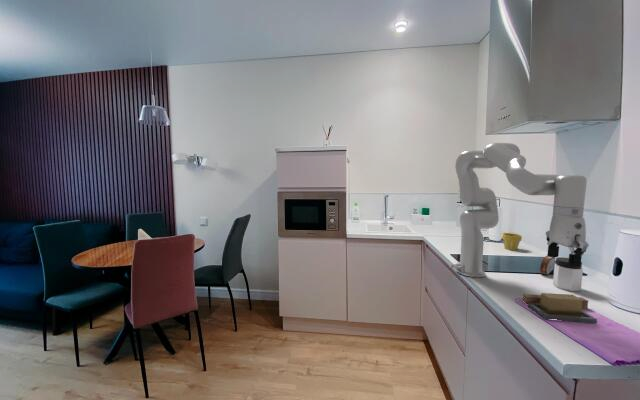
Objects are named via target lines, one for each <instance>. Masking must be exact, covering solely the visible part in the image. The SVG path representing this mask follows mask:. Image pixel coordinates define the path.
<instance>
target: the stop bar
mask: <svg viewBox="0 0 640 400" xmlns="http://www.w3.org/2000/svg"><path fill="white" fill-rule="evenodd" d="M540 295H541V302H540V310H542V311H543V312H545V313H546V314H548V315H563V316H578V317H581V312H582V311H583V308H582V301H583V300H582V299H580V298H578V296H576V295H574V294H570V293H569V294H568V293H567V294H566V293H549V292H541V293H540Z"/></svg>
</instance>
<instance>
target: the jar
mask: <svg viewBox="0 0 640 400" xmlns="http://www.w3.org/2000/svg"><path fill="white" fill-rule="evenodd" d="M568 261H569V257H561V256H560V257H559V256H558V257H555V262H554V268H553V279H552V284H553V285H554V286H555V287H556V288H558V289H561V290H565V291H570V292H580V291H582V283H583V271H584V268H582V267H583V262H582V261H581V266H580V267H576V266H569V265H568Z"/></svg>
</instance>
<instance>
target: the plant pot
mask: <svg viewBox="0 0 640 400" xmlns="http://www.w3.org/2000/svg"><path fill="white" fill-rule="evenodd" d="M501 238H502V240H503V247H504V249H505V250H508V251H517V250H518V247H519V244H520V242H521V241H522V238H523V237H522V235H521V234H518V233H513V232H512V233H511V232H503V233H501Z"/></svg>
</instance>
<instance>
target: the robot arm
mask: <svg viewBox="0 0 640 400" xmlns="http://www.w3.org/2000/svg"><path fill="white" fill-rule="evenodd" d="M526 164H527V158H526V157H525V156H523V155H522V154H521V150H520V148H519V146H517V145H516V144H514V143H512V142H511V143H509V142H493V143H490V144H488V145H487V146H485V147H484V149H483V150H466V151H463V152H460V154H459V155H458V156H457V158H456V161H455V164H454V165H455V172H456V174H457V178H458V188H459V196H460V201H461V204H462V205H463V206H464V207H469V208H472V207H473V208H476V207H477V209H468V210H464V211H462V213H461V214H460V215H459V224H460V232H461V233H460V236H461V237H460V257H459V261H458V262H457V263H449V268H453V269H454V270H455V271H456V272H457V273H458V274H460V275H462V276H466V277H470V278H483V277H486V272H485V271H484V270H483V261H484V260H483V257H484V242H485V241H484V235H483V233H482V231H481V230H482V229H483V230H485V229H486V230H487V229H493V228H495V227H497V225H498V223H499V211H498V210H499V209H498V201H497V197H496V194H495V192H494V191H493V190H492V189H491V188H489V187H481V186H480V184H479V177H478V175H477V174H476V172H475V171H474V169H494V168H496V167H497V169H499V170H501V171H502V172H504V173H505V175H506V179H507V181H508V182H509V184H510V185H512V186H513V187H514V188H516V189H517V190H519V192H521V193H523V194H526V195H528V196H553V206H552V215H551V216H552V217H551V220H550V224H549V225H550V226H549V230H547V231H546V232H545V236H546V241H547V243H546V244H547V246H548V247H547V255H546V256H548V257H555V258H559V252H560V245H561V246H564V247H566V248H567V247H568V250H569V252H570V253H569V255H568V258H569V261H568V265H569V266H576V267H580V266H581V262H582V258H583V257H582V256H583V255H584V254H585V252H586V251H587V249H588V248H589V243H588V242H587V241H586V235H587V231H586V230H587V228H586V221H585V218H584V212H585V211H584V210H585V202H586V201H585V200H586V191H587V178H586V176H584V175H579V174H578V175H577V174H576V175H575V174H574V175H570V174H567V175H563V174H562V175H559V174H547V173H546V174H534V173H533V172H530V171H529V170H527V169H526V168H525V166H526ZM478 207H479V209H478Z"/></svg>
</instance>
